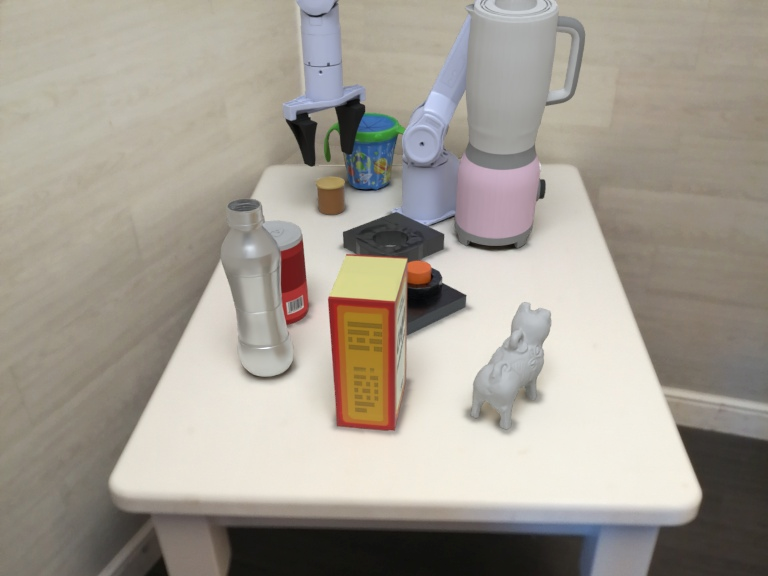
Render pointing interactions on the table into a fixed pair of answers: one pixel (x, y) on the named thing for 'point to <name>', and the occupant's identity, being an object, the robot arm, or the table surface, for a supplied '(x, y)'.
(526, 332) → the dog figurine
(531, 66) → the blender
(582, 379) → the table surface
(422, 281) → the button
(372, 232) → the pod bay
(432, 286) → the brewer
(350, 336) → the baking soda box
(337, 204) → the coffee pod
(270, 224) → the canned food
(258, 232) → the plastic bottle
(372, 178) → the snack cup
